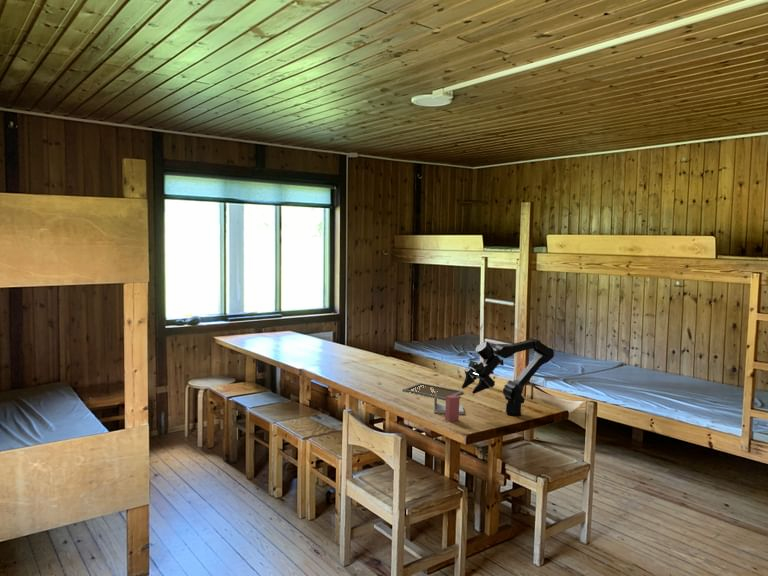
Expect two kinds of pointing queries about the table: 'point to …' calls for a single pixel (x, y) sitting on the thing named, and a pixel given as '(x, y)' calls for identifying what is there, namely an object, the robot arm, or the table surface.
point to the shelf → (444, 406)
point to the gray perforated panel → (441, 390)
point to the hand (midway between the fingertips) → (467, 390)
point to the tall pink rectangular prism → (452, 408)
